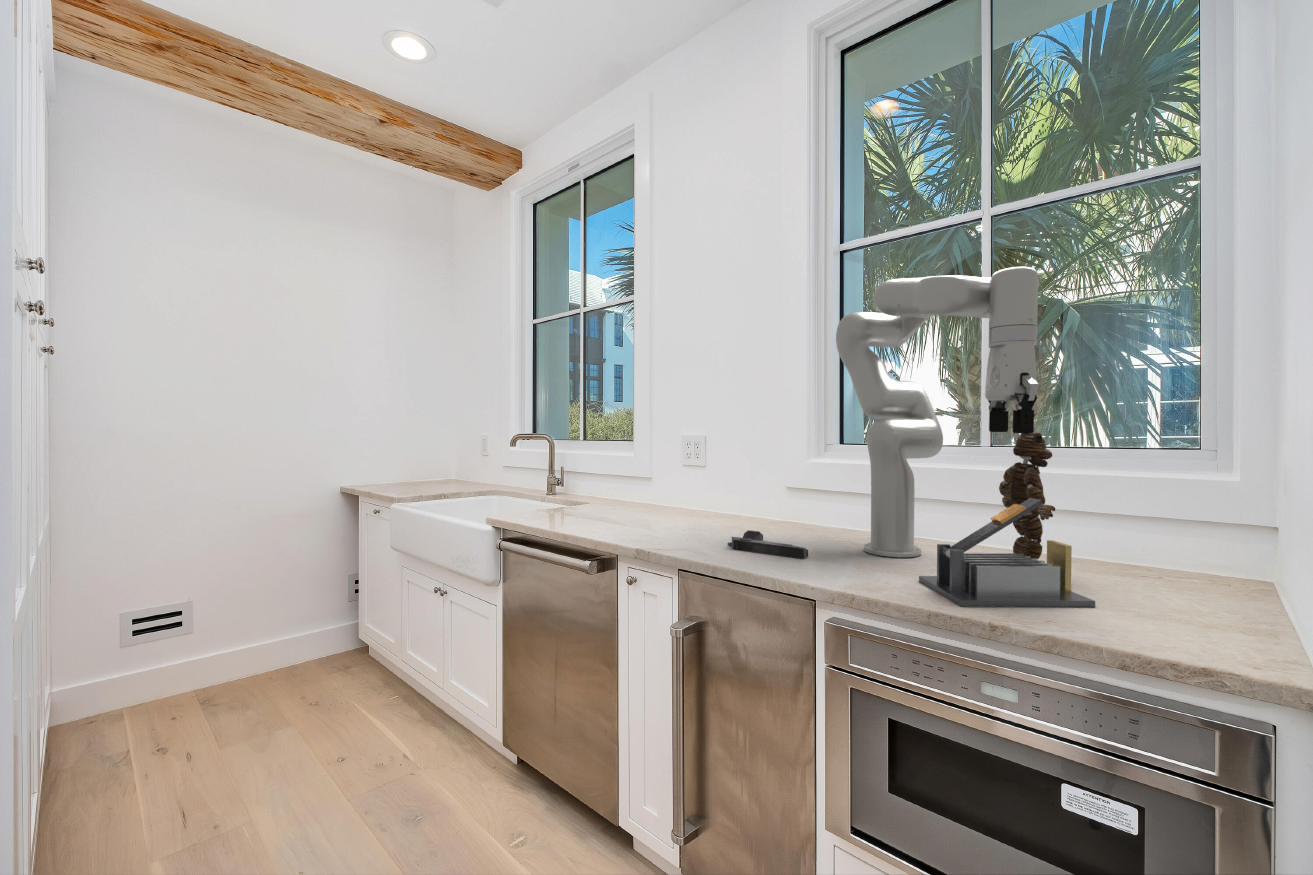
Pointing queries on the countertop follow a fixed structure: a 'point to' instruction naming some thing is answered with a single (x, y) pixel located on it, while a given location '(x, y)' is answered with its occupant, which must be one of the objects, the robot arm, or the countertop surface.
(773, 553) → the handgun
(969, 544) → the dark grey lever
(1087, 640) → the countertop surface
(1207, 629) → the countertop surface
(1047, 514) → the toy
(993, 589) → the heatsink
